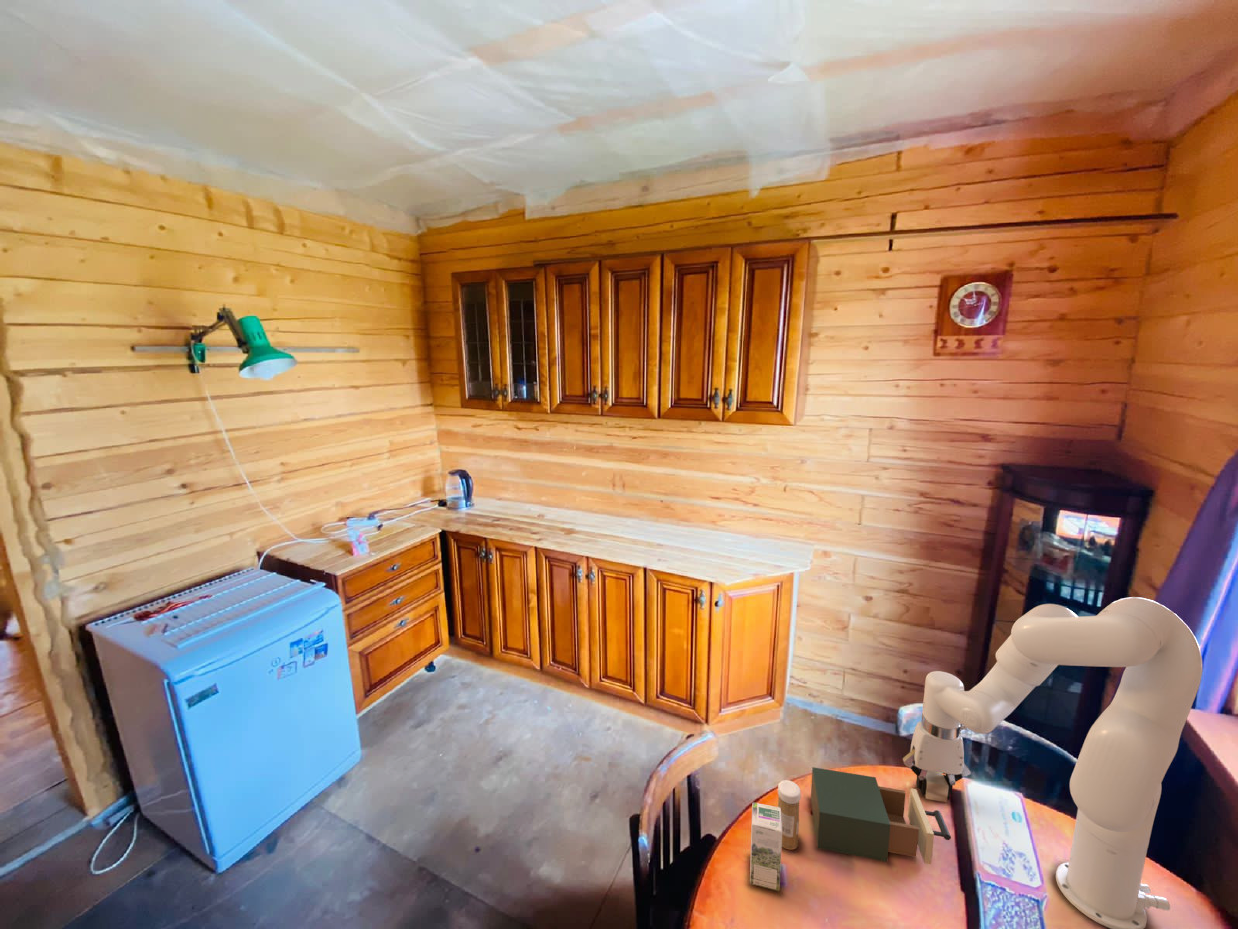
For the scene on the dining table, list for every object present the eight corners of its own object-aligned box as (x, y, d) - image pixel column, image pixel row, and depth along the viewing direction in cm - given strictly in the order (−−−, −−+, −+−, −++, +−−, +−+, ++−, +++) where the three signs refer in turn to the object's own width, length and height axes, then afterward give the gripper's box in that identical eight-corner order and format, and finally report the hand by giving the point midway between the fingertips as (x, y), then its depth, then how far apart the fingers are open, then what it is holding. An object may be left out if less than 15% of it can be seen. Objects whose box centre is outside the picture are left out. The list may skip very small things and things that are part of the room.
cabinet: (872, 811, 116) (875, 777, 114) (887, 862, 104) (890, 824, 102) (810, 800, 119) (812, 767, 118) (817, 848, 107) (819, 812, 106)
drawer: (934, 821, 112) (937, 792, 111) (954, 869, 101) (957, 838, 100) (853, 806, 116) (855, 779, 115) (864, 851, 105) (866, 822, 104)
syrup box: (778, 865, 104) (781, 805, 101) (779, 893, 98) (782, 830, 96) (750, 859, 105) (752, 799, 103) (749, 886, 100) (751, 824, 97)
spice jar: (802, 843, 108) (805, 789, 106) (788, 855, 106) (791, 800, 104) (785, 828, 112) (787, 775, 110) (771, 838, 110) (773, 785, 107)
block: (940, 787, 122) (941, 772, 121) (947, 802, 118) (948, 786, 117) (920, 784, 123) (921, 768, 122) (926, 799, 119) (927, 783, 118)
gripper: (974, 720, 119) (966, 786, 122) (896, 709, 123) (890, 774, 126) (989, 742, 112) (980, 812, 115) (905, 730, 116) (899, 799, 119)
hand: (933, 792), depth 120 cm, fingers closed on block, 4 cm apart
